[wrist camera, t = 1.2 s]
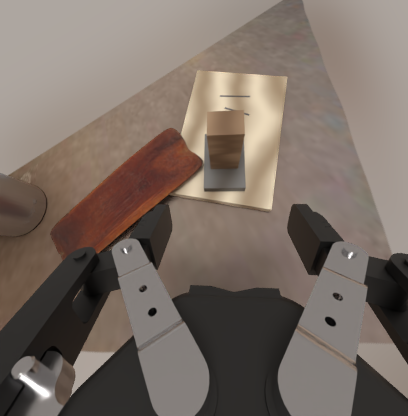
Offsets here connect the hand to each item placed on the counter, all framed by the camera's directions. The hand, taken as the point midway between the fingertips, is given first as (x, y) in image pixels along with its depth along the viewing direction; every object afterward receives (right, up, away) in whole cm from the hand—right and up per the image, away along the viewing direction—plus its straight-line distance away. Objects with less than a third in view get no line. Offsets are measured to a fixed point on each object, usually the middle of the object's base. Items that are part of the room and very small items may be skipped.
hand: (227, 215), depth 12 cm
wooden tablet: (-14, +2, +18) cm, 23 cm away
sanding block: (+2, +7, +17) cm, 18 cm away
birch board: (+3, +13, +19) cm, 23 cm away
